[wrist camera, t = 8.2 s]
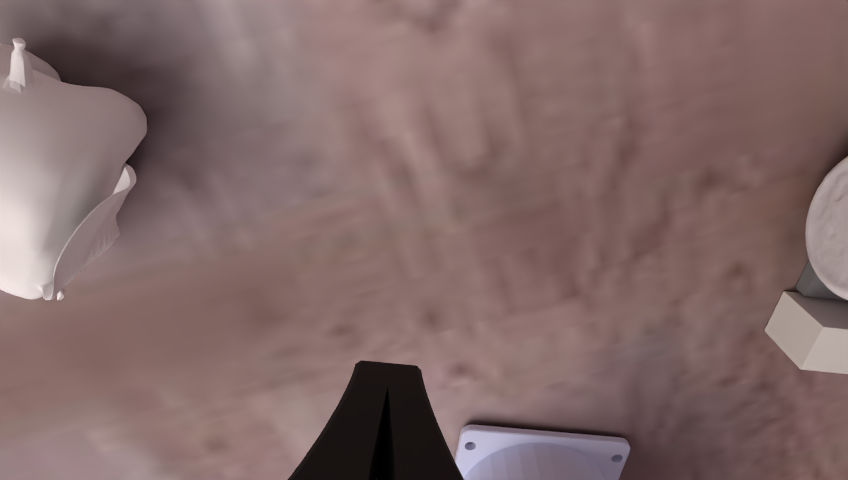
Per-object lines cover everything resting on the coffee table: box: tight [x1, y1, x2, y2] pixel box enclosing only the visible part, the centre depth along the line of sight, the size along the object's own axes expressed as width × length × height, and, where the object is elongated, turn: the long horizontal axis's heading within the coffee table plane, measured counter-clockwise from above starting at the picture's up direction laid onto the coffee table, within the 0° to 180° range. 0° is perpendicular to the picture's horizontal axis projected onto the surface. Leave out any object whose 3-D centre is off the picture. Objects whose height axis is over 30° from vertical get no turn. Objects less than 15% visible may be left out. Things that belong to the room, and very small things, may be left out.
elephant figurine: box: [0, 38, 147, 300], centre depth 17 cm, size 8×10×7 cm
